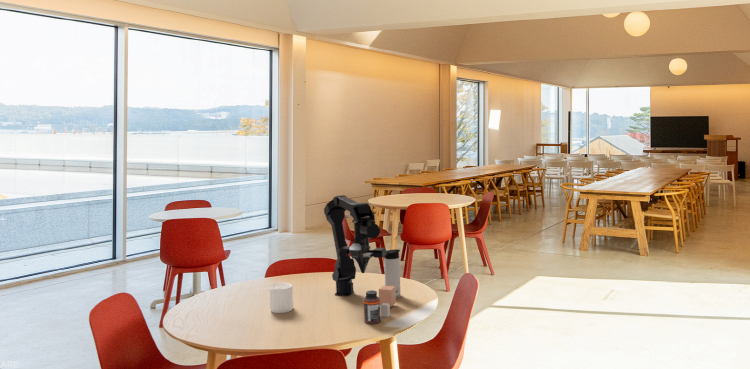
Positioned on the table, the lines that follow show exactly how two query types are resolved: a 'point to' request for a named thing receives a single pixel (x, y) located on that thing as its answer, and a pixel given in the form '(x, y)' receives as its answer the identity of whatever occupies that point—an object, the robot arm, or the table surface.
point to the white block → (385, 310)
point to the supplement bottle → (371, 307)
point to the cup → (281, 297)
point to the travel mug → (392, 270)
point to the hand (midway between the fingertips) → (363, 273)
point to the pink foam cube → (387, 295)
